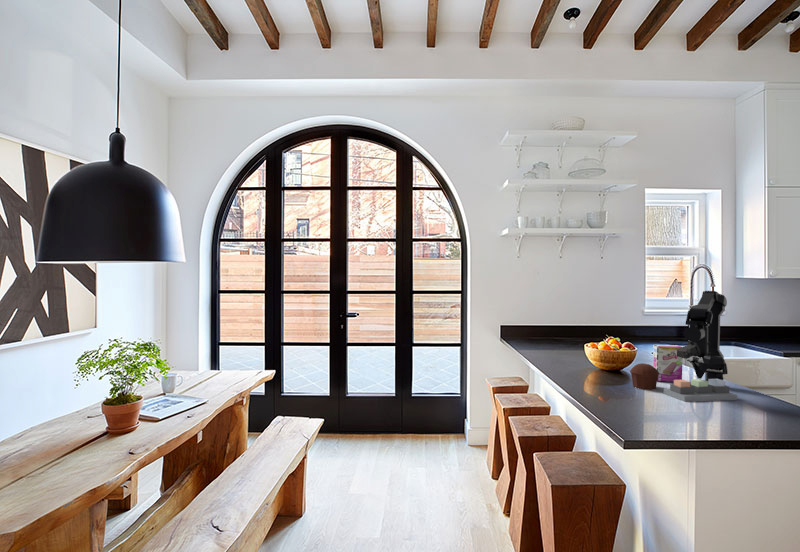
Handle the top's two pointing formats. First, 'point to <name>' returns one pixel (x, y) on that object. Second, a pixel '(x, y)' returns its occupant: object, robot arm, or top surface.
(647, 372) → the muffin
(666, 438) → the top surface
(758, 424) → the top surface
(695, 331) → the robot arm
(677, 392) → the button panel
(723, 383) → the slate button
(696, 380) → the sage button
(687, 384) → the terracotta button
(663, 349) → the candy bar box
